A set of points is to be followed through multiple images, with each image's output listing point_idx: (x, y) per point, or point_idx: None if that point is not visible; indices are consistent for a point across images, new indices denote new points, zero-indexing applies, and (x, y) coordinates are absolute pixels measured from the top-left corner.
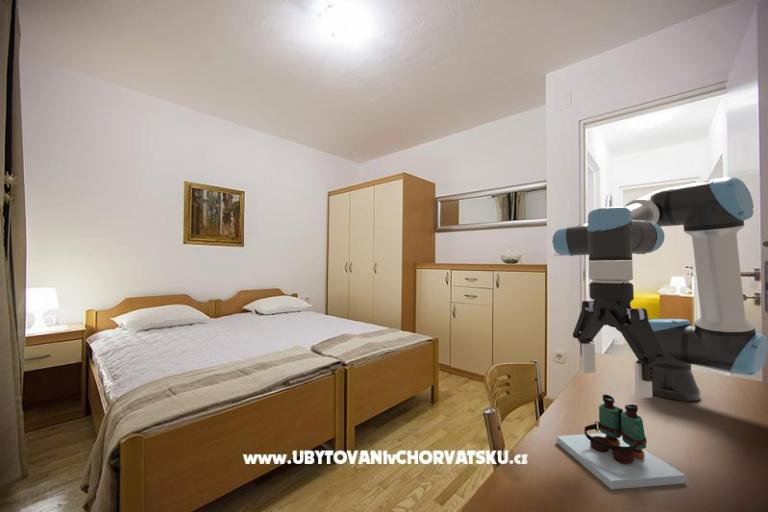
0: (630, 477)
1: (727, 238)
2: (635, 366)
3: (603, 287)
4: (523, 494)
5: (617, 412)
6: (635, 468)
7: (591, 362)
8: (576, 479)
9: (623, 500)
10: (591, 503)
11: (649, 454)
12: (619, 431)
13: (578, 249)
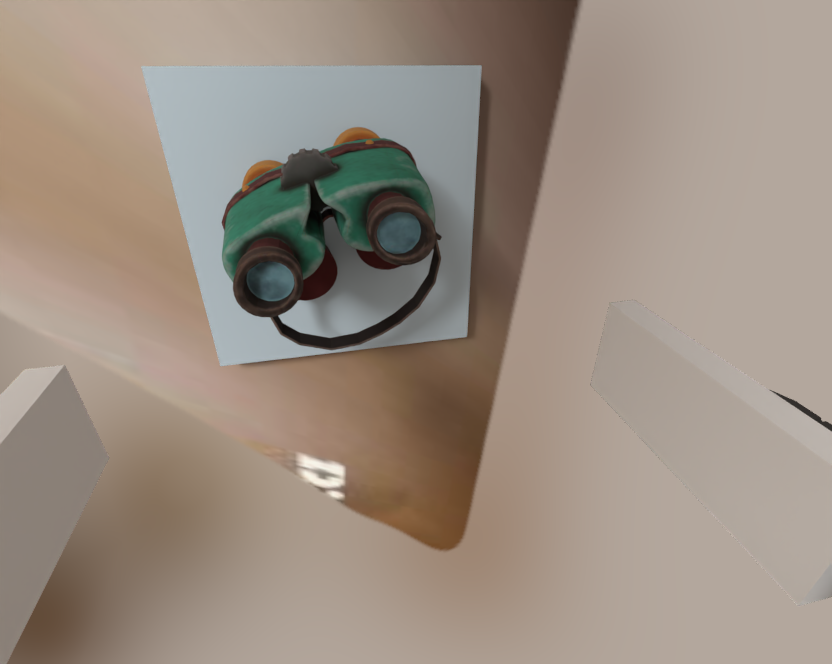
0: (462, 274)
1: None
2: (764, 560)
3: None
4: (445, 496)
5: (324, 245)
6: None
7: (27, 477)
8: (414, 384)
9: (496, 322)
10: (490, 393)
11: (347, 79)
12: (327, 215)
13: None
